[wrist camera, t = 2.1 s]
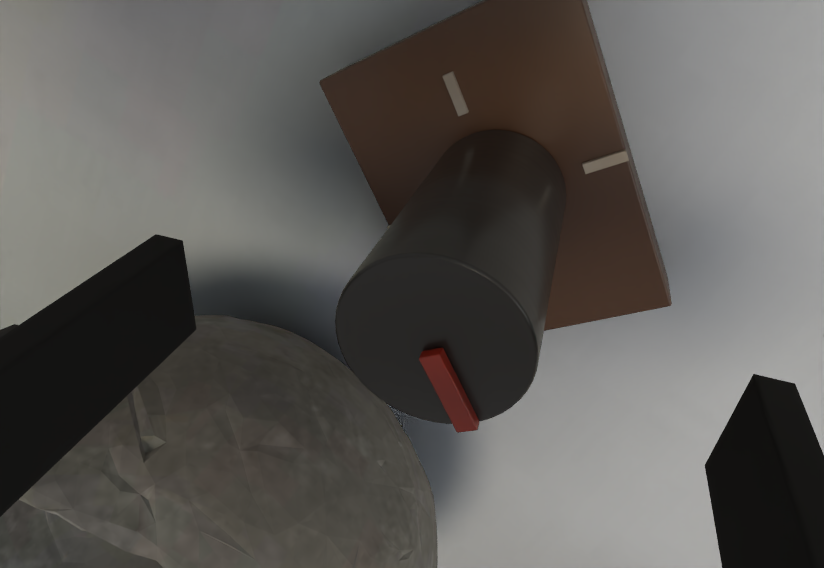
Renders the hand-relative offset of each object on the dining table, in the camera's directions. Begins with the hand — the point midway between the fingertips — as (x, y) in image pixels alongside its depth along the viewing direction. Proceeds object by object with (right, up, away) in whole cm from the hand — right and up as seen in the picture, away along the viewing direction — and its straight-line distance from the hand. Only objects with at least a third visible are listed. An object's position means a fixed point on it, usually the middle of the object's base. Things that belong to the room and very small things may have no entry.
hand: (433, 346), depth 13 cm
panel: (+3, +6, +9) cm, 11 cm away
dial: (+3, +5, +7) cm, 9 cm away
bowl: (-7, -5, +19) cm, 21 cm away
